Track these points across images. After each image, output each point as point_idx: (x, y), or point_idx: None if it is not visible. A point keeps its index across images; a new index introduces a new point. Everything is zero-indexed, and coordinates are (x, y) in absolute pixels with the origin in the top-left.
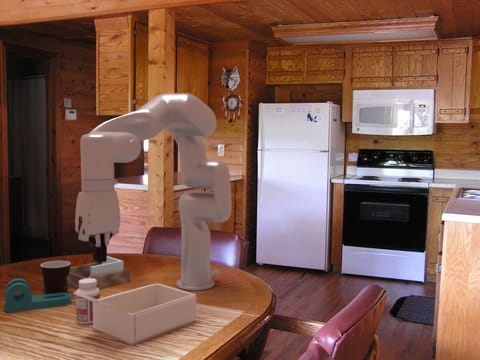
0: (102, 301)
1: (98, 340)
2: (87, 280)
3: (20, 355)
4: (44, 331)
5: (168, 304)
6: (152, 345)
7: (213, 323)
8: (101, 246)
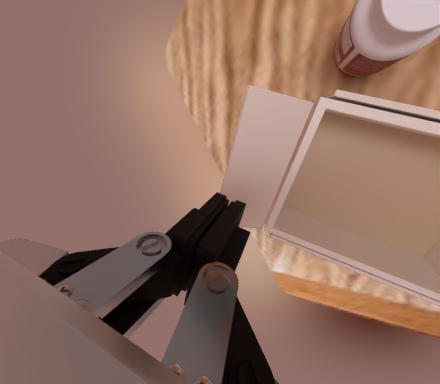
0: None
1: None
2: None
3: (173, 79)
4: (263, 9)
5: (363, 268)
6: None
7: None
8: (174, 291)
